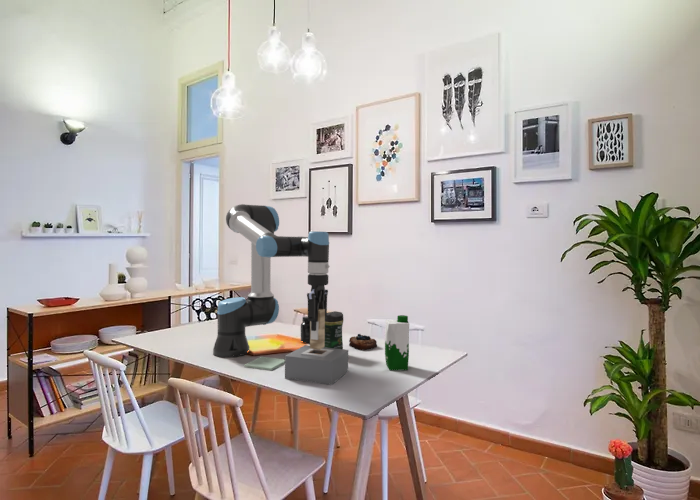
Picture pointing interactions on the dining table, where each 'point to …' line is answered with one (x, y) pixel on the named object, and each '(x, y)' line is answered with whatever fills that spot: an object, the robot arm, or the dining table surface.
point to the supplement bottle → (305, 330)
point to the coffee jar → (334, 330)
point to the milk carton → (397, 343)
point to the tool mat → (265, 363)
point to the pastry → (362, 342)
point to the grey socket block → (316, 364)
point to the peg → (319, 332)
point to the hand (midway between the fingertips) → (317, 337)
